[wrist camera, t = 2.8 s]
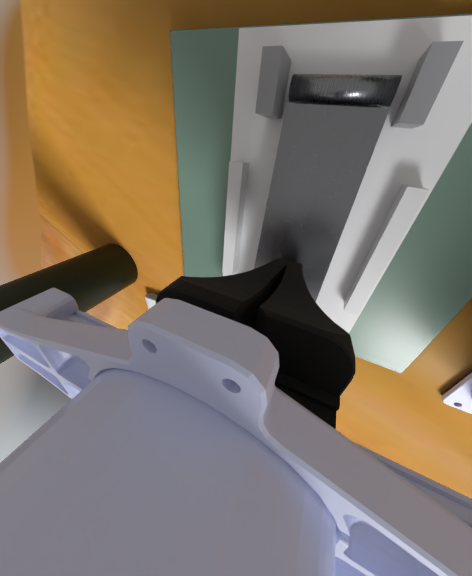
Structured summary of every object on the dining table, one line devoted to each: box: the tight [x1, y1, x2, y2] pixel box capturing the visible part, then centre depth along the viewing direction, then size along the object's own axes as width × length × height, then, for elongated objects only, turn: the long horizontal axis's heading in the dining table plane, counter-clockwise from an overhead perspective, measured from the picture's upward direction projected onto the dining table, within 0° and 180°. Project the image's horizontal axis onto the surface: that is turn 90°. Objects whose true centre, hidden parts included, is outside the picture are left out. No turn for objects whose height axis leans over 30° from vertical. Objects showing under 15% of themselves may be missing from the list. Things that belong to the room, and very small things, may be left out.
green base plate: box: [170, 14, 472, 373], centre depth 14 cm, size 22×20×6 cm
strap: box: [254, 74, 402, 302], centre depth 12 cm, size 16×4×1 cm, turn 174°
